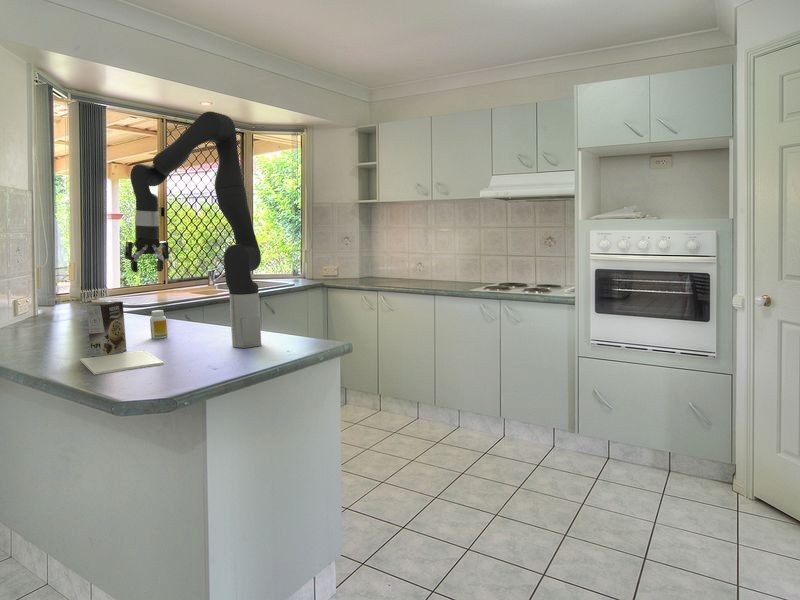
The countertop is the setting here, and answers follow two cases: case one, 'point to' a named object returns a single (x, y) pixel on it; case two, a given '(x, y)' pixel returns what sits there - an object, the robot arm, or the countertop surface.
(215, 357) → the countertop surface
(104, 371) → the cream board
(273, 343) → the countertop surface
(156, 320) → the supplement bottle
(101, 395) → the countertop surface
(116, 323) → the coffee box
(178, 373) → the countertop surface
